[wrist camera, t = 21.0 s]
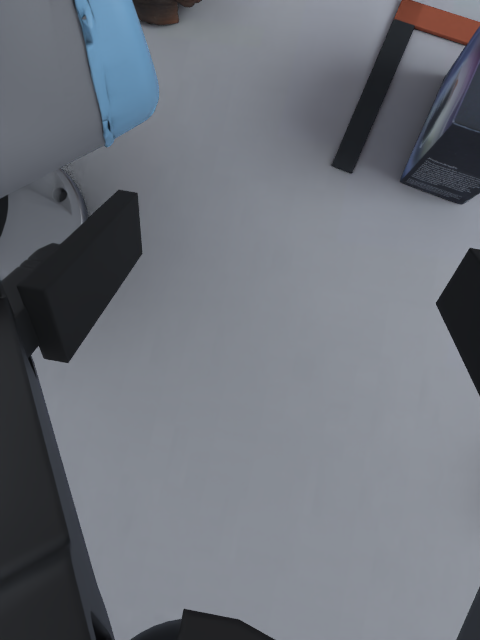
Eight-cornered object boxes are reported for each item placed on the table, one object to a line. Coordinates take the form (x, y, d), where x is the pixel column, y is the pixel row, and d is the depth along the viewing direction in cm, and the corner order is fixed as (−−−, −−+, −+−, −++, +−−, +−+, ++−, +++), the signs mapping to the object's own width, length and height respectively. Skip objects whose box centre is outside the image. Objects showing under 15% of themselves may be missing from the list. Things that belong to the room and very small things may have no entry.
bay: (331, 166, 33) (331, 164, 33) (401, 0, 32) (403, -3, 32) (521, 237, 31) (523, 236, 31) (601, 64, 30) (604, 61, 30)
